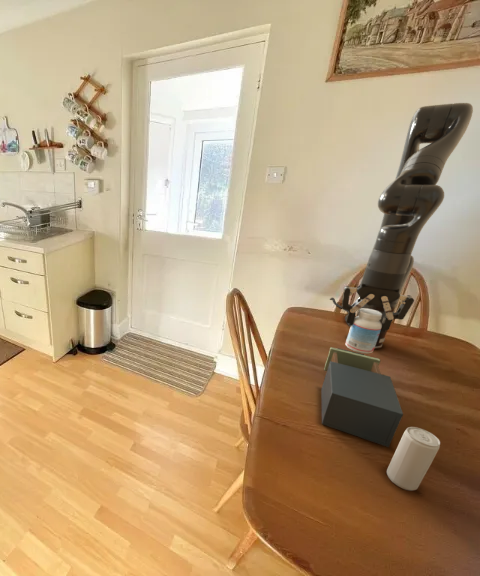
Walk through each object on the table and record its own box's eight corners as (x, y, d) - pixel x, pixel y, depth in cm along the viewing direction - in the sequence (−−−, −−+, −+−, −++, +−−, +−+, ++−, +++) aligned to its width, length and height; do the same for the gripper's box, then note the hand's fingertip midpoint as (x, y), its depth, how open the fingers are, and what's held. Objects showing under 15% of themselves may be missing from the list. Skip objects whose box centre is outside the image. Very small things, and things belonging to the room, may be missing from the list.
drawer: (323, 359, 101) (330, 338, 99) (368, 371, 95) (376, 349, 93) (324, 395, 86) (332, 371, 83) (378, 411, 80) (388, 387, 77)
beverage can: (409, 474, 65) (431, 429, 60) (423, 495, 60) (448, 449, 56) (381, 467, 66) (400, 423, 62) (392, 488, 62) (414, 442, 58)
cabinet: (321, 389, 89) (330, 360, 86) (378, 406, 83) (390, 376, 79) (321, 424, 77) (332, 392, 74) (388, 447, 71) (403, 414, 67)
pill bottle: (377, 355, 83) (392, 317, 79) (351, 353, 84) (364, 315, 80) (364, 343, 88) (377, 308, 84) (340, 341, 90) (351, 306, 86)
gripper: (421, 268, 77) (398, 328, 83) (348, 260, 84) (332, 315, 91) (430, 277, 71) (404, 341, 77) (350, 267, 79) (333, 326, 85)
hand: (365, 327), depth 84 cm, fingers closed on pill bottle, 6 cm apart
